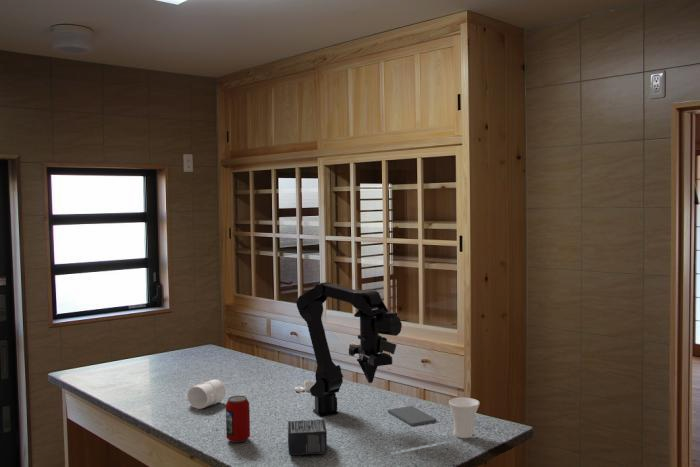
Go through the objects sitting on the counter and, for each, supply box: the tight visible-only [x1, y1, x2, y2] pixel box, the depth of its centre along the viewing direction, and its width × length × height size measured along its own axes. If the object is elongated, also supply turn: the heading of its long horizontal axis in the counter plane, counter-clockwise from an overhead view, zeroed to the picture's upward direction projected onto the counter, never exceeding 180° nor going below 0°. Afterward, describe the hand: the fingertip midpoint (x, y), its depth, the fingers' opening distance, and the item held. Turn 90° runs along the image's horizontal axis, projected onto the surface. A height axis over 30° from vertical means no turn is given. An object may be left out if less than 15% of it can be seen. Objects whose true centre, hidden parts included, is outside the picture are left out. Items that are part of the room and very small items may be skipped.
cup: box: [448, 397, 481, 439], centre depth 187 cm, size 9×9×10 cm
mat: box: [387, 405, 437, 427], centre depth 204 cm, size 9×15×1 cm, turn 25°
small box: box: [287, 419, 328, 456], centre depth 178 cm, size 11×6×10 cm
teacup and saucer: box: [294, 379, 316, 395], centre depth 235 cm, size 9×8×4 cm
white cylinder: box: [187, 379, 226, 410], centre depth 220 cm, size 12×9×8 cm
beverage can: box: [225, 395, 251, 443], centre depth 187 cm, size 7×7×12 cm
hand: (370, 382), depth 198 cm, fingers closed
